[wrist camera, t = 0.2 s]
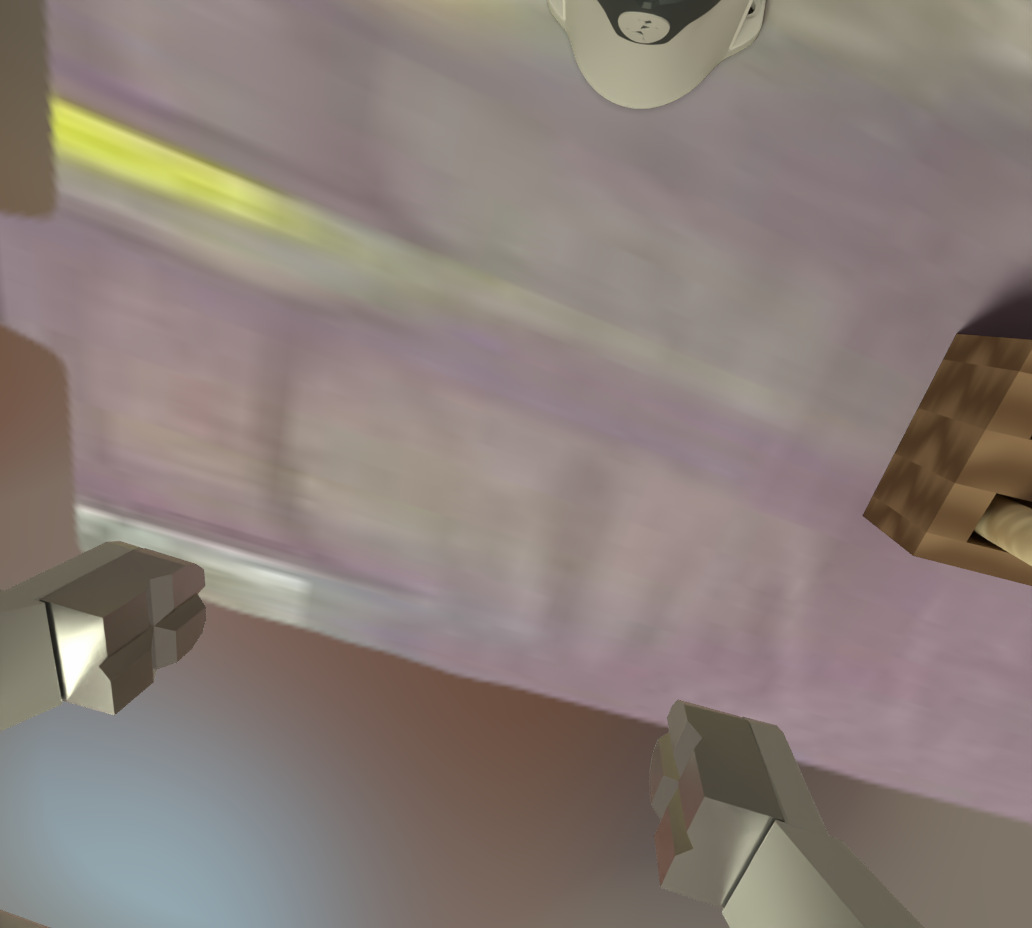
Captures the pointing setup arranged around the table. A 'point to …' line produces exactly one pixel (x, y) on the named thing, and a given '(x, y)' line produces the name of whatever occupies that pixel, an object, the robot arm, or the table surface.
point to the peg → (1008, 527)
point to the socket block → (963, 458)
